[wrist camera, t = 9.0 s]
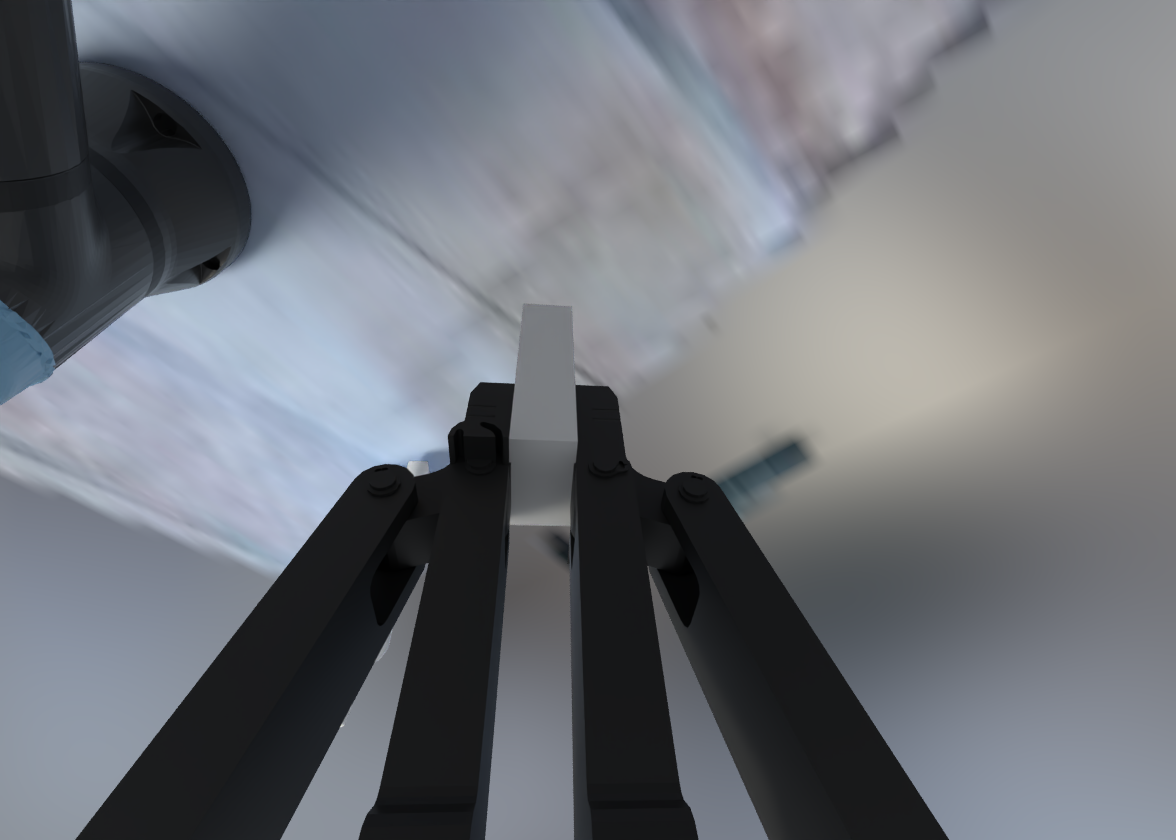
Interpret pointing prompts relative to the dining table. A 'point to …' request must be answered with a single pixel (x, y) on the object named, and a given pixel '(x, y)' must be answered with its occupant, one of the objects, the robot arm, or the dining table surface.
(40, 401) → the dining table surface
